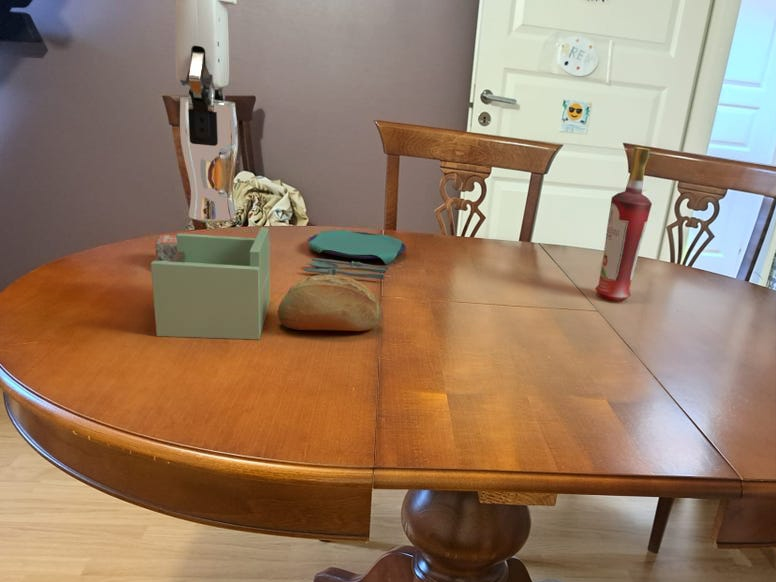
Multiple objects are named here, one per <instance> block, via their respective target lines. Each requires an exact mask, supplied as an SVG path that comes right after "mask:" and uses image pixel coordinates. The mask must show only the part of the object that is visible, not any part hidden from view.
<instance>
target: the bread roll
mask: <svg viewBox="0 0 776 582" xmlns="http://www.w3.org/2000/svg"><path fill="white" fill-rule="evenodd" d="M277 316H278V320H279V322H280V323H281V324H282V325H283V326H285V327H286V328H287V329H292V330H296V331H297V330H298V331H346V332H347V331H348V332H349V331H351V332H363V331H365V332H366V331H370V330H373V329H375V328H378V326H380V325H381V323H382V321H383V319H384V311H383V308H382V305H381V302H380V300H379V299H378V297H377V296H376V295H375V293H374V292H373V291H372V290H370V289H369V288H368V287H367V286H366V285H364V284H363V283H362V282H360V281H358V280H356V279H354V278H352V277H350V276H344V275H337V274H336V275H328V274H318V275H317V274H316V275H312V276H311V275H310V276H308V277H306V278H304V279H302V280H300V281H297V282H296V283H295V284H293V285H292V286H291V287H290V288H289V289H288V290H287V292H286V293H285V295H284V297H283V298H282V299H281V301H280V303H279V305H278V310H277Z"/></svg>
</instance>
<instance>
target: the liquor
mask: <svg viewBox="0 0 776 582" xmlns="http://www.w3.org/2000/svg"><path fill="white" fill-rule="evenodd" d="M650 152H651V148H646V147H645V148H644V147H638V146H637V147H636V146H635V147H634V150H633V155H632V165H631V166H632V167H631V169H630V173H629V176H628V180H627V183H626V186H625V190H624V191H620V192H617V193H616V194H614V195H613V196H611V200H610V207H609V214H608V220H607V225H606V233H605V240H604V241H605V242H604V247H603V248H604V249H603V254H602V255H603V256H602V261H601V267H600V274H599V280H598V284H597V286H596V287H595V288H594V289H595V291H596V293H597V294H598V295H599V297H600V298H601V299H602V300H604V301H608V302H613V303H622V302H623V301H626V299H628V298H629V297H631V295H632V294H631V291H630V289H631V285H632V280H633V276H634V273H635V268H636V265H637V261H638V257H639V253H640V249H641V245H642V243H643V239H644V236H645V232H646V228H647V224H648V220H649V216H650V212H651V208H652V205H653V203H652V201H651V200H650V198H648V197H647V196H646V195H644V194H643V186H644V177H645V168H646V165H647V162H648V160H649V156H650Z"/></svg>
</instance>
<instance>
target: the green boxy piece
mask: <svg viewBox="0 0 776 582" xmlns="http://www.w3.org/2000/svg"><path fill="white" fill-rule="evenodd" d="M175 236H176V238H177V253H176V254H175V255H174V256H173V258H172V259H171V260H170V261H169V262H166V261H155V260H152V262H150V272H151V282H152V283H151V284H152V285H151V286H152V294H153V295H152V296H153V307H154V320H155V321H154V322H155V331H156V337H166V338H167V337H171V338H196V339H197V338H199V339H200V338H201V339H228V340H229V339H231V340H233V339H234V340H258V341H259V340H261V339H260V338H261V335H262V332H263V328H264V324H265V321H266V317H267V314H268V310H269V306H270V303H271V247H270V246H271V245H270V243H271V242H270V229H269V227H259V230H258V232H257V234H256V236H255V238H253V237H242V236H227V235H226V236H225V235H211V234H209V235H208V234H196V233H183V232H182V233H181V232H179V233H177V234H176V235H175Z"/></svg>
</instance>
